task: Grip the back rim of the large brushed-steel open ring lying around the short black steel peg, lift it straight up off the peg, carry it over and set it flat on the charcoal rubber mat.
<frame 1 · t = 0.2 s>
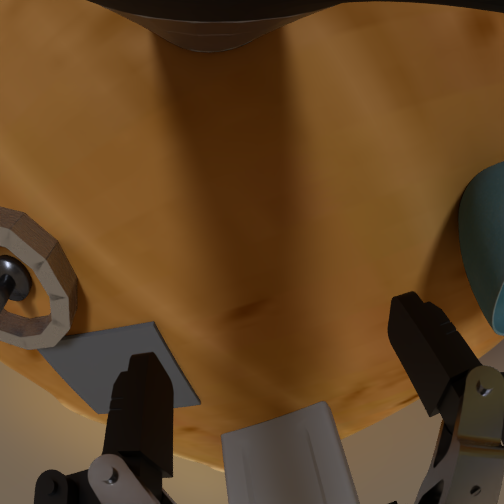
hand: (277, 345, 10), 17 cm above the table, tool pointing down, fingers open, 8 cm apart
tall grey upright block: (285, 432, 52), on the table
steel ring: (11, 275, 27), on the table
rubber mat: (119, 376, 37), on the table
plant pot: (482, 201, 30), on the table
peg stand: (11, 275, 27), on the table
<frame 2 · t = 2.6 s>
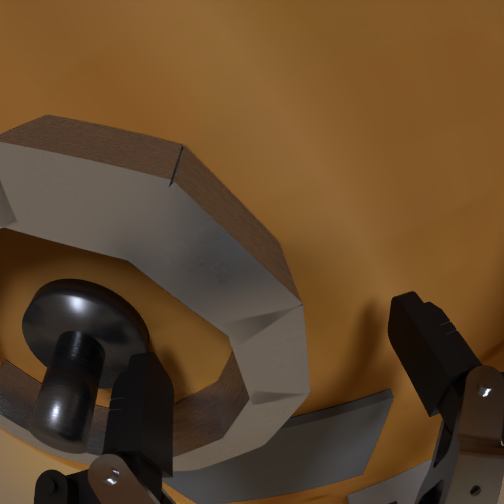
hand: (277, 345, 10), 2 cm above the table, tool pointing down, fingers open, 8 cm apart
tall grey upright block: (410, 475, 36), on the table
steel ring: (87, 331, 11), on the table
rubber mat: (269, 467, 21), on the table
peg stand: (87, 331, 11), on the table
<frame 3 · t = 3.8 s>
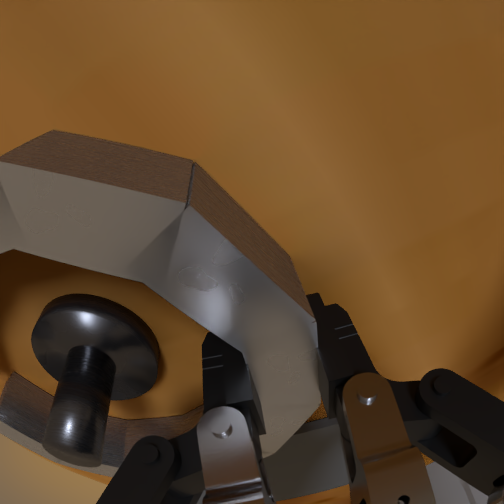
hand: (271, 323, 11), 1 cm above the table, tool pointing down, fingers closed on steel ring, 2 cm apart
tall grey upright block: (416, 477, 35), on the table
steel ring: (96, 344, 11), on the table, touching gripper
rubber mat: (277, 473, 21), on the table
peg stand: (96, 344, 11), on the table
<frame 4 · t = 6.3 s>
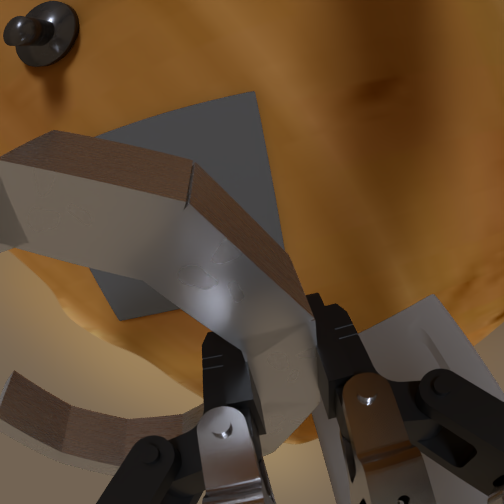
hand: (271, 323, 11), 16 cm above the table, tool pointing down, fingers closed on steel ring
tall grey upright block: (377, 357, 40), on the table
steel ring: (97, 343, 12), point 15 cm above the table, touching gripper
rubber mat: (170, 221, 25), on the table
peg stand: (48, 33, 16), on the table
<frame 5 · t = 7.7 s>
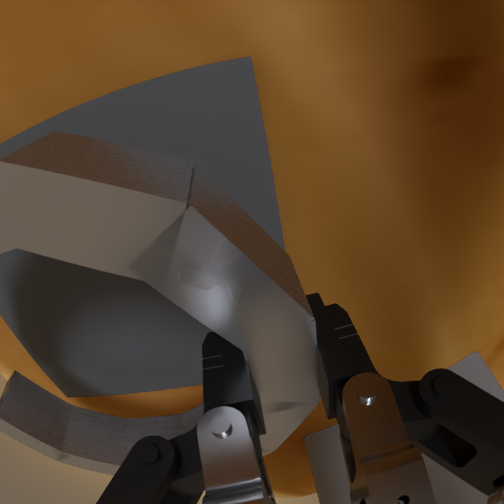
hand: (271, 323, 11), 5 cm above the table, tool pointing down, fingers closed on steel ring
tall grey upright block: (399, 421, 29), on the table
steel ring: (98, 343, 12), point 4 cm above the table, touching gripper
rubber mat: (114, 281, 15), on the table
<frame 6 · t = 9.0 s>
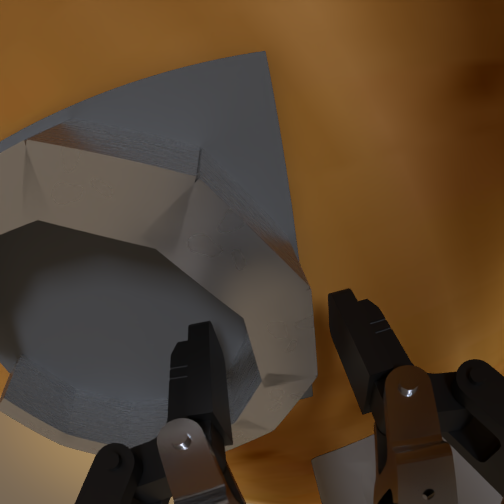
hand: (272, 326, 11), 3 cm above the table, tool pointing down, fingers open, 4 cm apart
tall grey upright block: (409, 438, 27), on the table
steel ring: (105, 322, 12), point 1 cm above the table, touching rubber mat
rubber mat: (105, 315, 13), on the table
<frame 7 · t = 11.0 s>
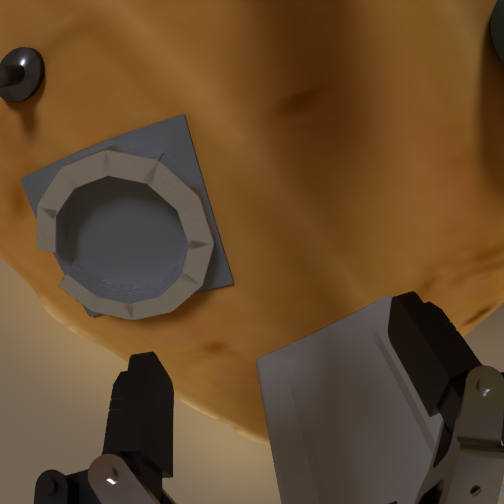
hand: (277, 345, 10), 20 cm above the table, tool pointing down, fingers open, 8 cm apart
tall grey upright block: (338, 358, 42), on the table
steel ring: (125, 230, 28), point 1 cm above the table, touching rubber mat
rubber mat: (124, 229, 29), on the table
peg stand: (21, 74, 20), on the table
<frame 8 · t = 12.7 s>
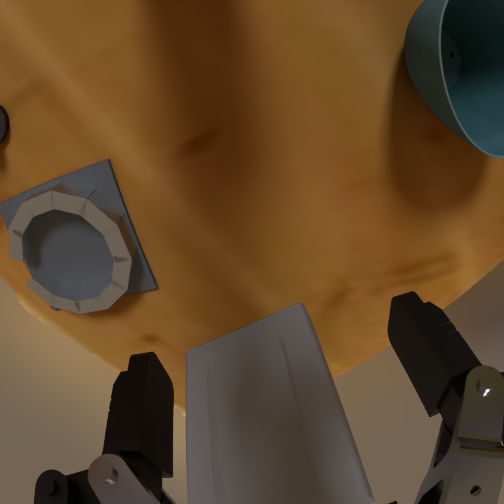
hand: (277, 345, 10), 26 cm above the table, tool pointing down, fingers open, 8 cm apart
tall grey upright block: (261, 355, 49), on the table
steel ring: (73, 245, 35), point 1 cm above the table, touching rubber mat
rubber mat: (73, 244, 35), on the table
plant pot: (433, 58, 28), on the table
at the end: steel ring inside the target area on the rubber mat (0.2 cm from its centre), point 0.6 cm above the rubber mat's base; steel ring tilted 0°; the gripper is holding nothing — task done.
